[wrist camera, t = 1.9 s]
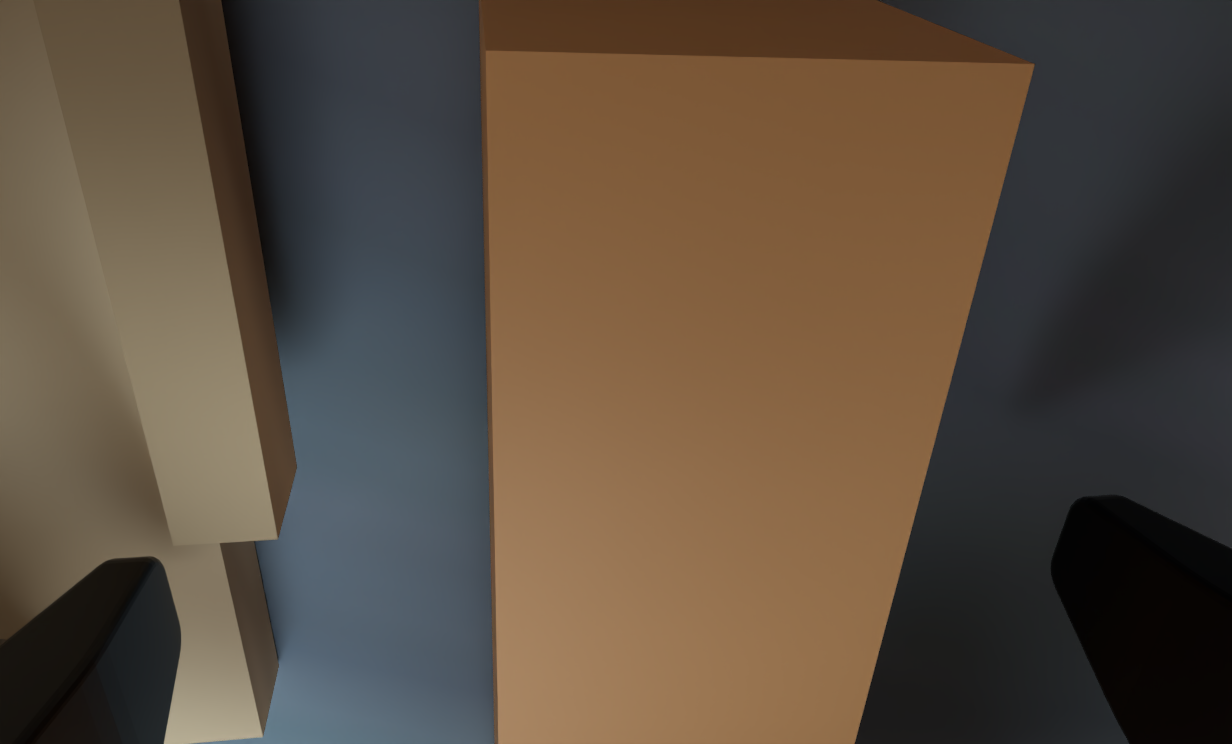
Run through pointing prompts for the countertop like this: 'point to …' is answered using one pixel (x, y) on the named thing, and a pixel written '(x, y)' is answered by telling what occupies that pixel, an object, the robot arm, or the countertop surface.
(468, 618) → the countertop surface
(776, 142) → the orange rectangular bar
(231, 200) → the tool board
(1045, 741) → the countertop surface
